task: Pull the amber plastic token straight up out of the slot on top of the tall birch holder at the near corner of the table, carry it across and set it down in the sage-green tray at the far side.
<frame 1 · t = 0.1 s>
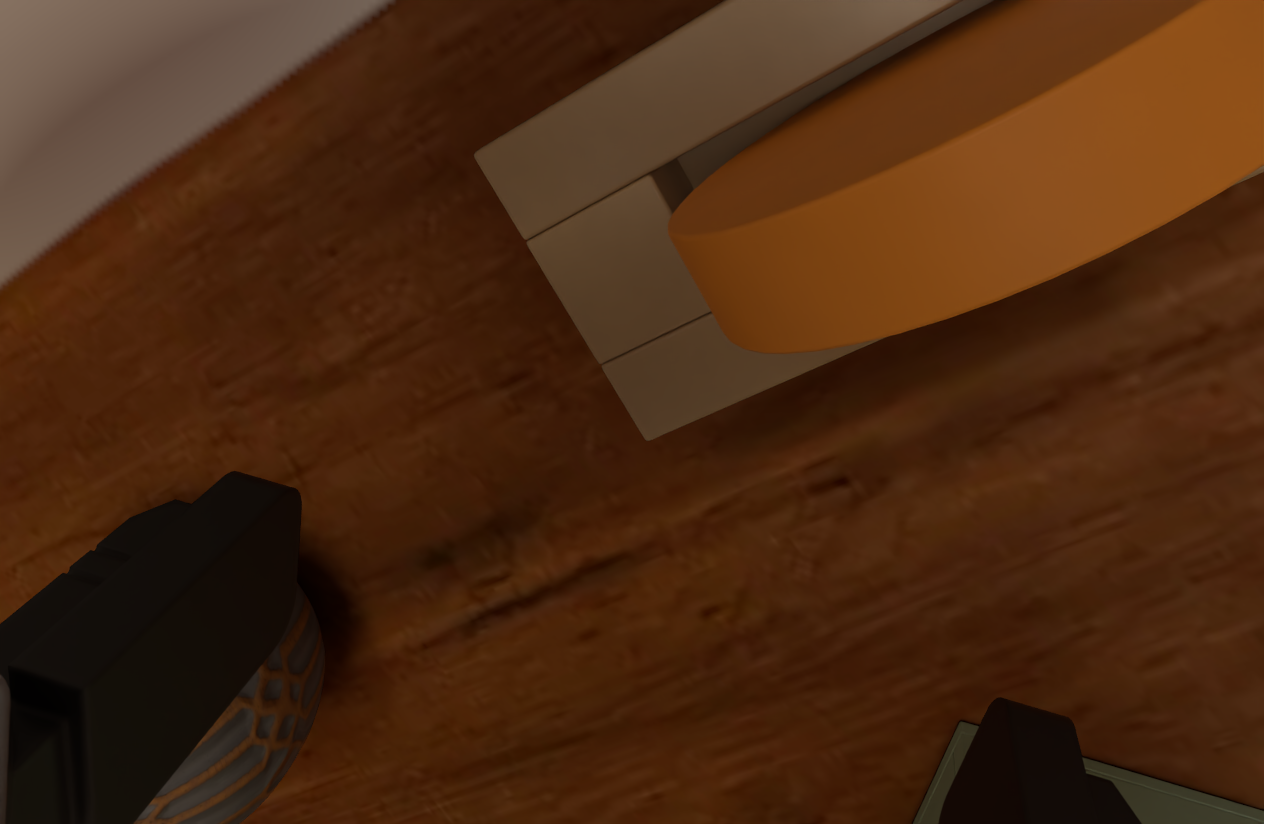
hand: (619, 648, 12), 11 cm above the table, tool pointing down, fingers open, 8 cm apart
vase: (246, 600, 28), on the table
token: (980, 123, 10), point 10 cm above the table, touching holder
holder: (929, 21, 19), on the table
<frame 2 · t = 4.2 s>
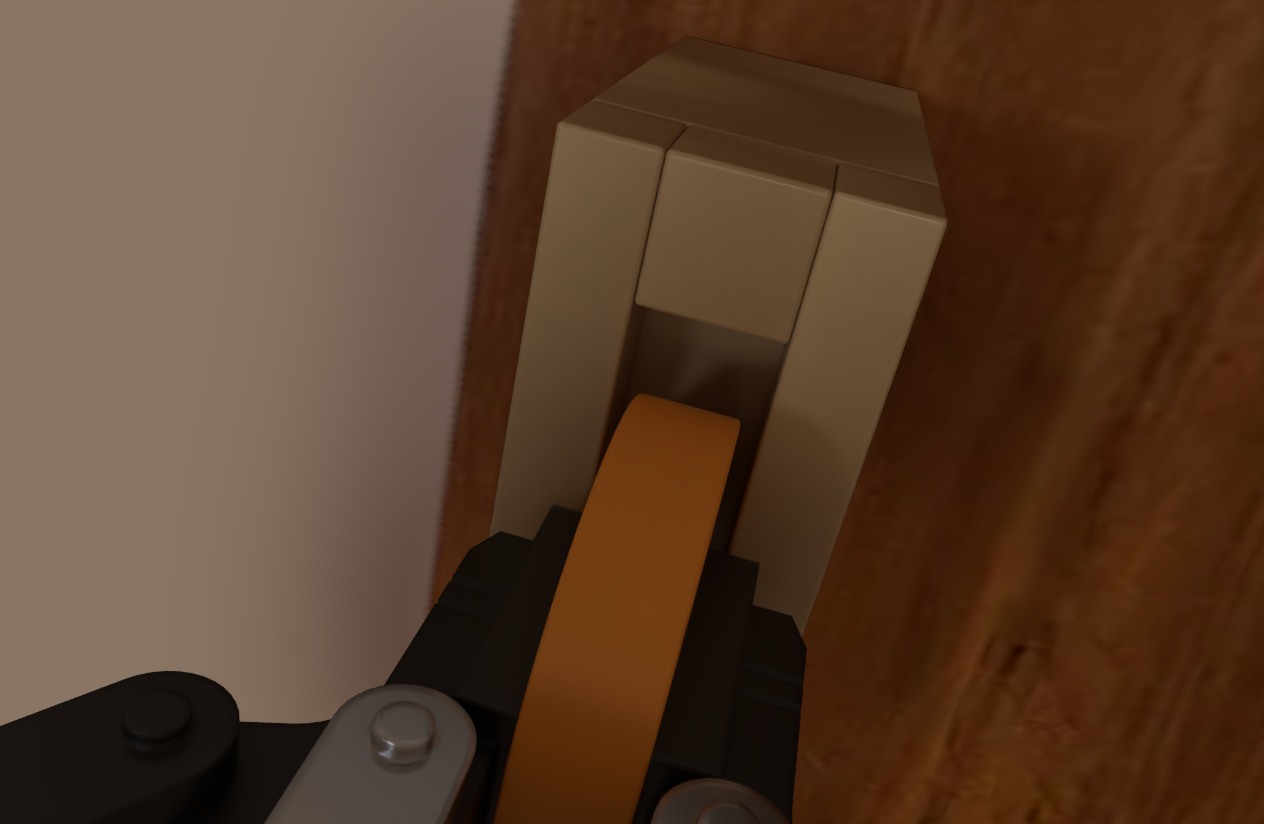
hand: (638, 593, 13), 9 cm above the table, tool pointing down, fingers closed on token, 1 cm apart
token: (620, 658, 12), point 10 cm above the table, touching gripper
holder: (729, 331, 21), on the table
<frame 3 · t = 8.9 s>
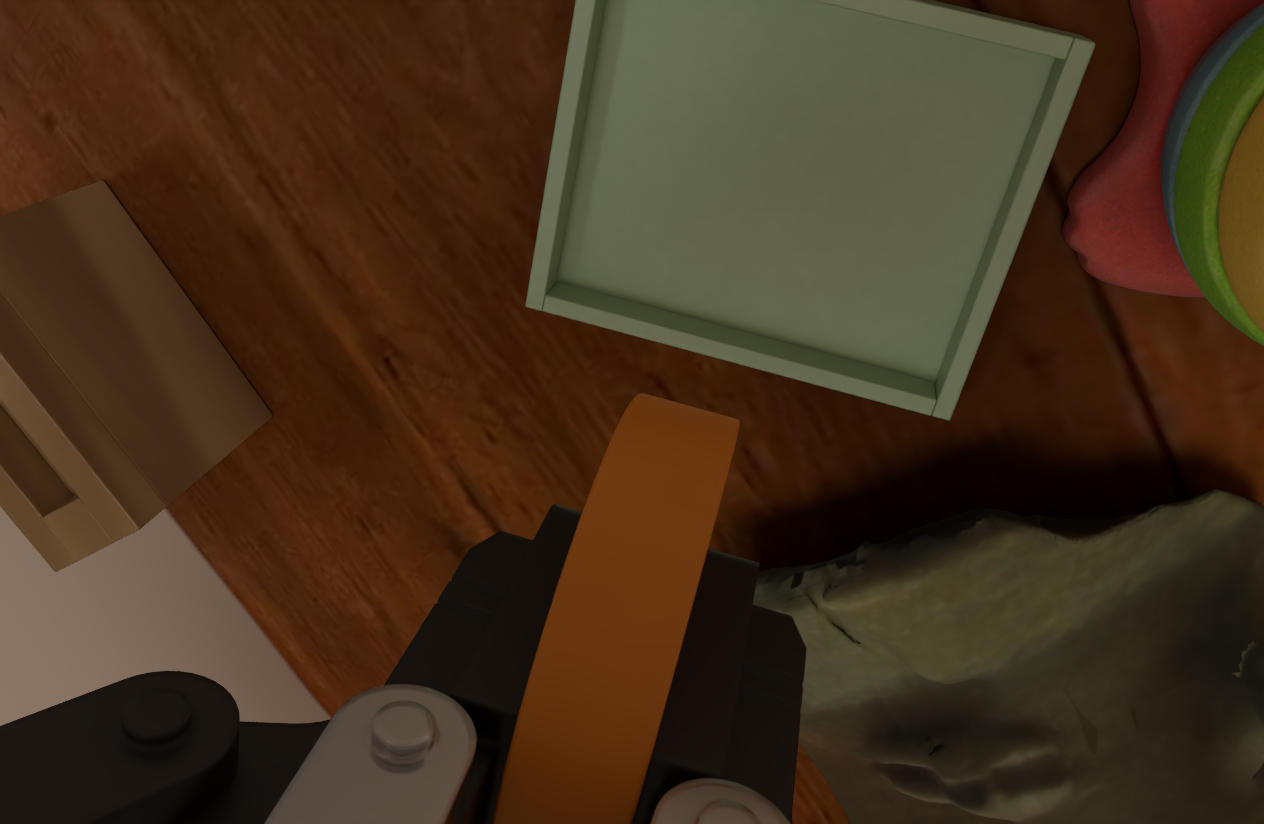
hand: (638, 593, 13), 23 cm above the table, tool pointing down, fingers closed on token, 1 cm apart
tray: (785, 174, 33), on the table
token: (619, 659, 12), point 24 cm above the table, touching gripper
holder: (153, 325, 40), on the table
stone head: (1070, 736, 40), on the table
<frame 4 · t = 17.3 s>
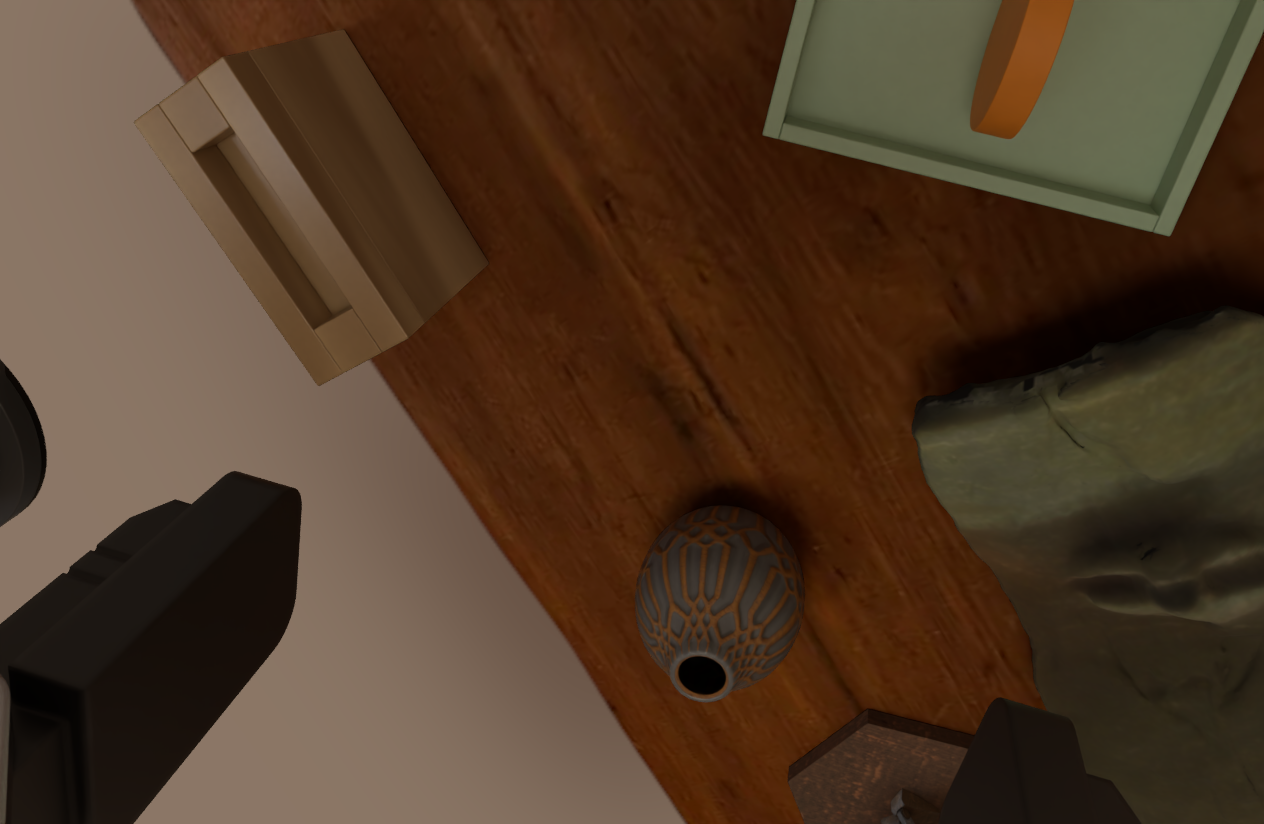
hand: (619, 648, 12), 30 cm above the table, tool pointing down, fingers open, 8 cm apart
tray: (1017, 3, 35), on the table
robot figurine: (897, 794, 51), on the table
vase: (730, 547, 47), on the table
token: (1022, 37, 32), point 3 cm above the table, tilted 15°, touching tray
holder: (379, 174, 42), on the table
stone head: (1250, 565, 42), on the table
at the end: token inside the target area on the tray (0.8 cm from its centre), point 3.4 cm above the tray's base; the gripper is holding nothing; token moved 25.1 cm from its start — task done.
